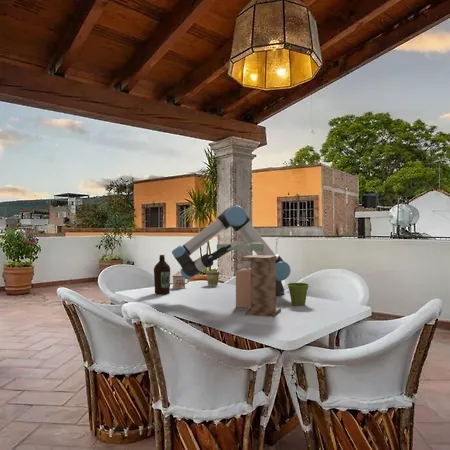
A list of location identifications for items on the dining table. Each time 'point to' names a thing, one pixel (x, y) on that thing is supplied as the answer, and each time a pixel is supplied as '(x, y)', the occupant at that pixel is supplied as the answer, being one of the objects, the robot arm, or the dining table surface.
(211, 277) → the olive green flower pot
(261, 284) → the tall stand
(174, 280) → the teacup with lid
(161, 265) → the olive oil
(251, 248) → the handle rail
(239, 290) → the reddish brown block
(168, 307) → the dining table surface
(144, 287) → the dining table surface
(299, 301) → the plant pot
